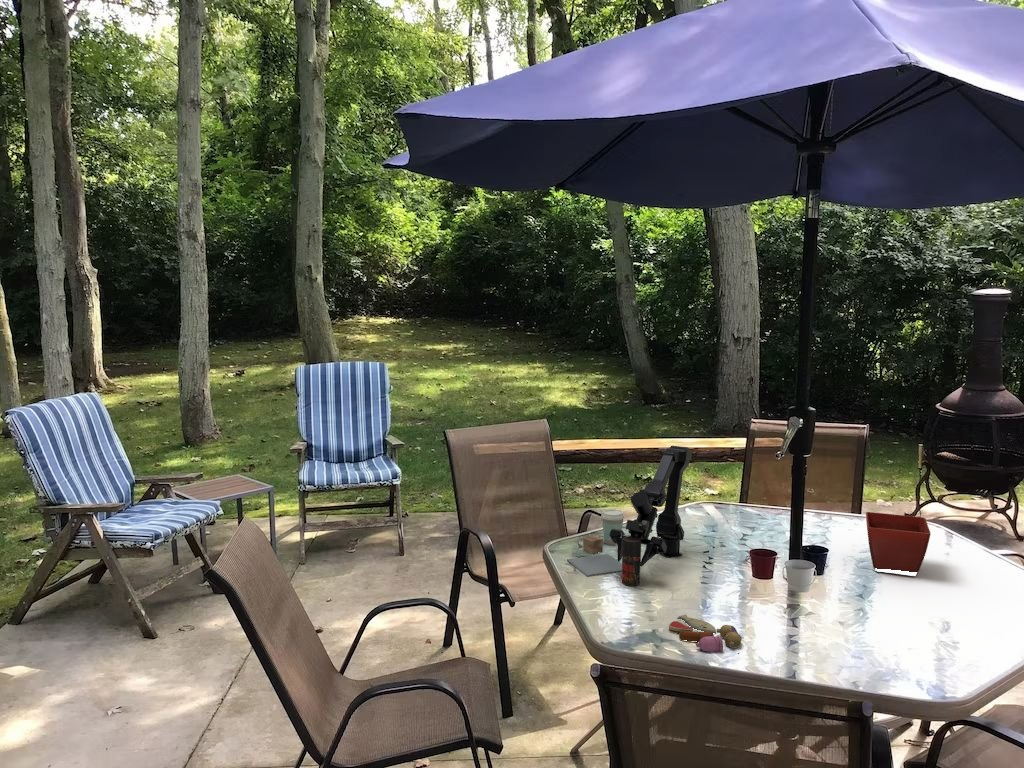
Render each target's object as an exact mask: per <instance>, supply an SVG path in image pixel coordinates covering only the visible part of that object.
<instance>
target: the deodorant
mask: <svg viewBox="0 0 1024 768" xmlns="http://www.w3.org/2000/svg"><path fill="white" fill-rule="evenodd" d="M621 560H622V561H621V564H622V572H621V585H623V586H624V587H631V588H634V587H635V588H636V587H639V586H640V584H641V566H640V563H641V560H642V544H641V539H640V538H639V537H635V536H630V535H629V536H627V537H624V538H623V549H622V558H621Z"/></svg>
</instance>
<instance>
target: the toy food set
mask: <svg viewBox="0 0 1024 768" xmlns="http://www.w3.org/2000/svg"><path fill="white" fill-rule="evenodd" d="M677 619H682V620H684V621H685V623H687V624H688V625H689V626H691V627H689V626H687V625H686V624H685V623H684V621H683V622H681V621H680V620H677ZM693 628H694V629H697V630H701V631H704V632H698V631H695V630H693ZM669 631H670V633H671V632H673V633H672V634H675V633H679V634H678V635H679V636H678V638H679V640H680V639H681V640H680V641H682V640H687V641H697V643H696V642H695V646H696V648H699V649H700V650H701V649H702V650H704V651H715V652H723V649H724V643H725V646H727V645H728V646H731V647H738V646H739V647H740V646H741V643H742V638H743V637H742V636H741V634H739V633H738V631H737V629H736V628H735V627H734V626H733V625H731V624H723V625H722V626H721V627H720V628H717V629H716V627H715V626H714V625H712V624H711V623H709V622H707V621H706V620H703V619H699V618H693V617H689V616H688V615H687V614H682V615H679V616H677V618H676V620H673V621H672V622H670V623H669V624H668V632H669ZM713 633H716V634H717V633H718V634H719V636H715V634H713ZM722 637H723V638H725V639H724V641H723V638H722ZM687 641H686V642H687ZM698 642H699V643H698ZM728 646H727V647H728ZM731 647H730V648H731ZM739 647H738V648H739ZM702 650H701V651H702ZM704 651H703V652H704Z"/></svg>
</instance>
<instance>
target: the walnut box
mask: <svg viewBox="0 0 1024 768" xmlns="http://www.w3.org/2000/svg"><path fill="white" fill-rule="evenodd" d="M582 540H583V541H582V543H583V544H582V548H583V549H582V551H583V550H584V551H583V552H585V551H586V552H585V553H587V552H588V554H590V553H591V554H590V555H592V554H593V555H596V554H595V553H597V554H599V553H598V552H600V553H603V552H604V551H603V549H604V548H603V547H604V546H603V545H604V538H601V537H599V536H596V535H595V534H593V535H590V536H589V535H588V536H585V537H583V539H582ZM602 551H603V552H602Z"/></svg>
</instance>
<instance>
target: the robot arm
mask: <svg viewBox="0 0 1024 768" xmlns="http://www.w3.org/2000/svg"><path fill="white" fill-rule="evenodd" d="M692 455H693V454H692V451H691V450H690V448H689V447H686V446H678V445H670V446H669V447H667V448H664V450H663V451H662V453H661V459H660V462H659V465H658V467H657V469H656V470H655V471H656V472H655V474H654V476H653V479H652V481H650V482H649V483H648V484H646V486H645V487H644V489H642V488H640V489H639V490H638V491H637V492H635V493H634V494H633V495H632V496H631V497H630V503H631V504H632V508H634V511H635V512H636V513H637V517H636V519H635V518H634V519H626V524H625V530H626V531H627V532H628V534H625V532H624V530H623V529H622V530H618V529H612V530H611V531H610V533H609V536H610V537H611V539H612V541H613V542H614V543H616V544H617V545H616V548H617V547H618V553H617V561H618V562H620V563H621V560H622V549H623V538H624V537H627V536H635V537H639V538H640V539H641V545H645V551H644V553H643V555H642V556H641V563H640V568H641V567H643V566H644V565H645V564H646V563H648V561H649V560H651V559H652V558H653V557H654V556H656V555H660V554H661V555H662V556H664V557H665V558H673V557H678V556H679V557H680V556H683V554H682V553H681V552H680V550H681V549H680V548H681V547H680V546H681V541H683V540H684V538H685V530H684V528H683V526H682V518H681V516H680V514H679V505H680V504H679V503H680V496H681V491H682V483H683V482H682V481H683V474H684V472H685V470H686V469H687V468H688V467H689V465H690V461H691V459H692ZM666 486H667V489H666ZM663 506H664V509H663V511H661V512H660V513H659V514H658V512H657V510H656V508H662V507H663ZM655 507H656V508H655ZM655 519H657V521H656V524H655V530H656V536H655V535H654V536H653V535H652V536H651V538H650V539H649V537H650V534H652V533H653V526H654V523H655Z"/></svg>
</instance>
